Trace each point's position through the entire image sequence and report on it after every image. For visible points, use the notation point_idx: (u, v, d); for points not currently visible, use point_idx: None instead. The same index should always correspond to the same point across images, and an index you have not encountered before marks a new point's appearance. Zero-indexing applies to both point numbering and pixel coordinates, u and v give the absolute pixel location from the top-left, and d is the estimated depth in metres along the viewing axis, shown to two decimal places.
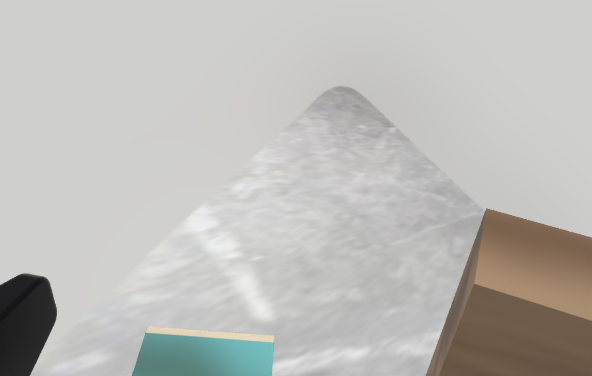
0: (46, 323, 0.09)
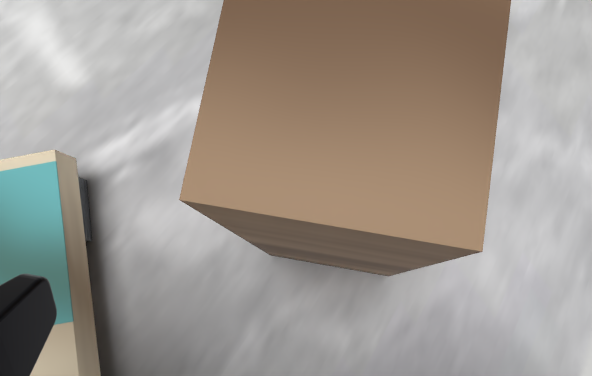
0: (46, 323, 0.09)
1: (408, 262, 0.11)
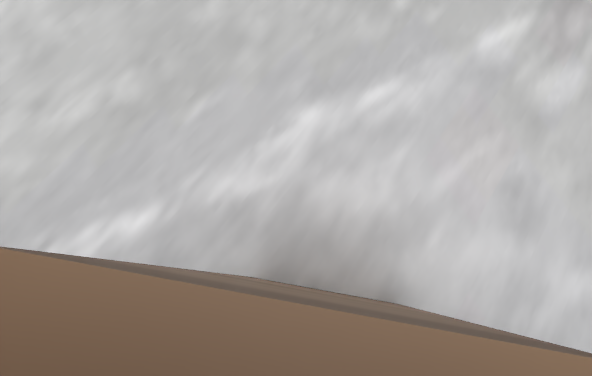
0: None
1: None
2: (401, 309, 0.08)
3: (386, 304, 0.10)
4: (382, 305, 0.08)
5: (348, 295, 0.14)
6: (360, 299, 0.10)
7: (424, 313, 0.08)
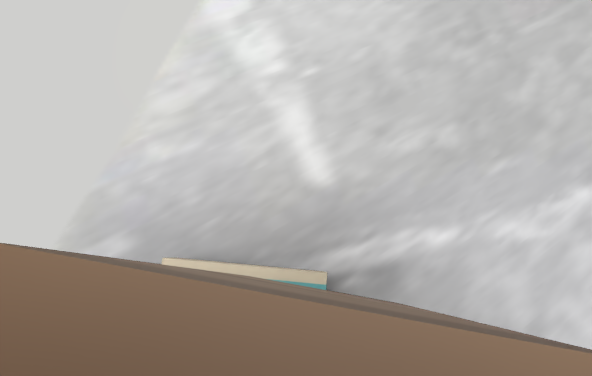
0: None
1: None
2: (403, 307, 0.08)
3: (387, 303, 0.10)
4: None
5: (349, 294, 0.14)
6: (361, 298, 0.11)
7: None
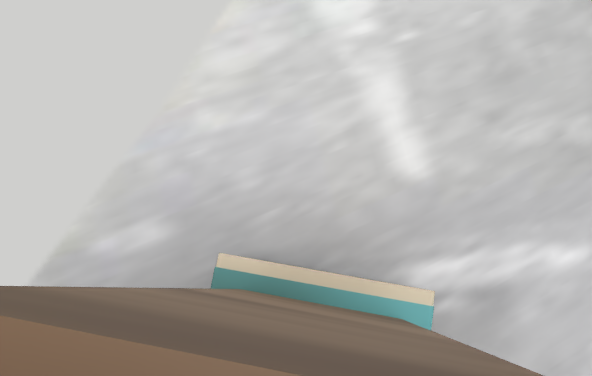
0: None
1: None
2: (407, 336, 0.07)
3: (389, 324, 0.09)
4: (385, 330, 0.07)
5: (347, 309, 0.13)
6: (360, 318, 0.10)
7: (433, 340, 0.07)
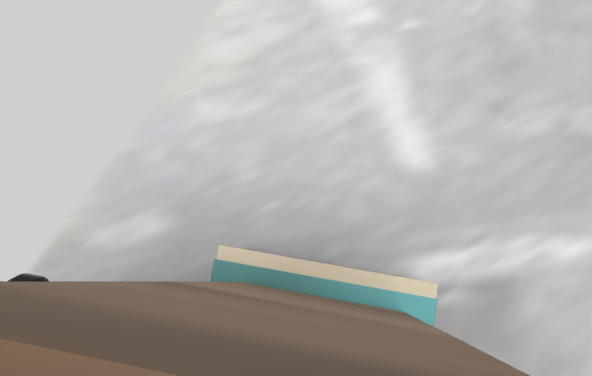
0: None
1: None
2: (396, 331, 0.06)
3: (384, 318, 0.09)
4: (375, 325, 0.07)
5: (348, 302, 0.13)
6: (355, 312, 0.09)
7: (424, 335, 0.07)
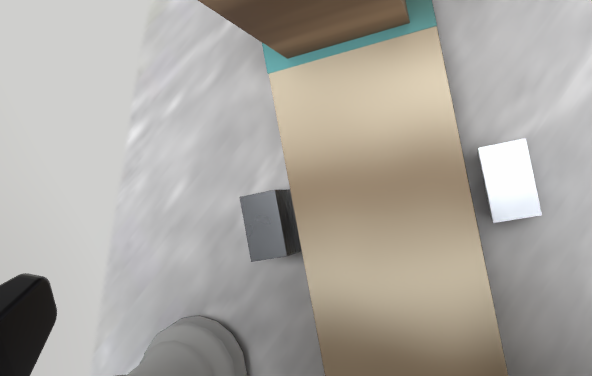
0: (46, 323, 0.09)
1: None
2: None
3: None
4: None
5: None
6: None
7: None
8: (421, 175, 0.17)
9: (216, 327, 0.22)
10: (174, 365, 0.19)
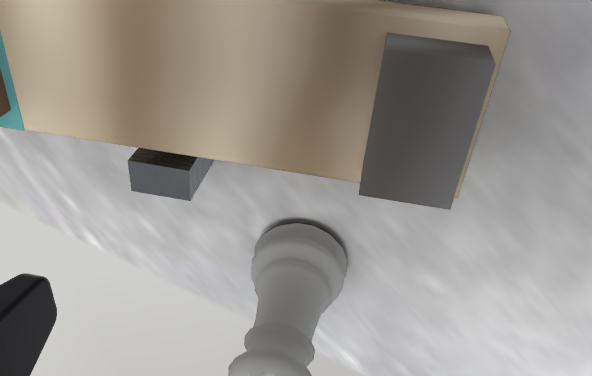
0: (46, 323, 0.09)
1: None
2: None
3: None
4: None
5: None
6: None
7: None
8: (129, 26, 0.17)
9: (266, 237, 0.24)
10: (266, 291, 0.22)
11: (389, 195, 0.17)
